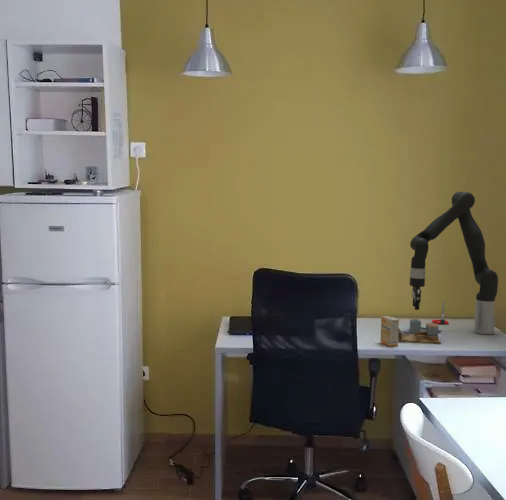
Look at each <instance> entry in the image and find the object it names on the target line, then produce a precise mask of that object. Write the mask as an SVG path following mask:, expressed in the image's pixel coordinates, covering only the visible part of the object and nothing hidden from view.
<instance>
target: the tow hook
mask: <svg viewBox="0 0 506 500" xmlns="http://www.w3.org/2000/svg"><path fill="white" fill-rule="evenodd" d="M440 318H441V319H432V320H431V323H436V324H437V325H449V324H450V322H449V321H448V320H446V319H445V300H443V301H442V305H441V316H440Z"/></svg>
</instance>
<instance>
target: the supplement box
mask: <svg viewBox="0 0 506 500" xmlns="http://www.w3.org/2000/svg"><path fill="white" fill-rule="evenodd" d="M380 318H381V319H380V320H381V321H380V339H379V341H380V343H381V344H384V345H386V346H388V347H389V348H390V347H397V346H399V345H398V344H399V342H398V328H399V327H400V319H398V318H396V317H393V316H390V315H383V316H380Z"/></svg>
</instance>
